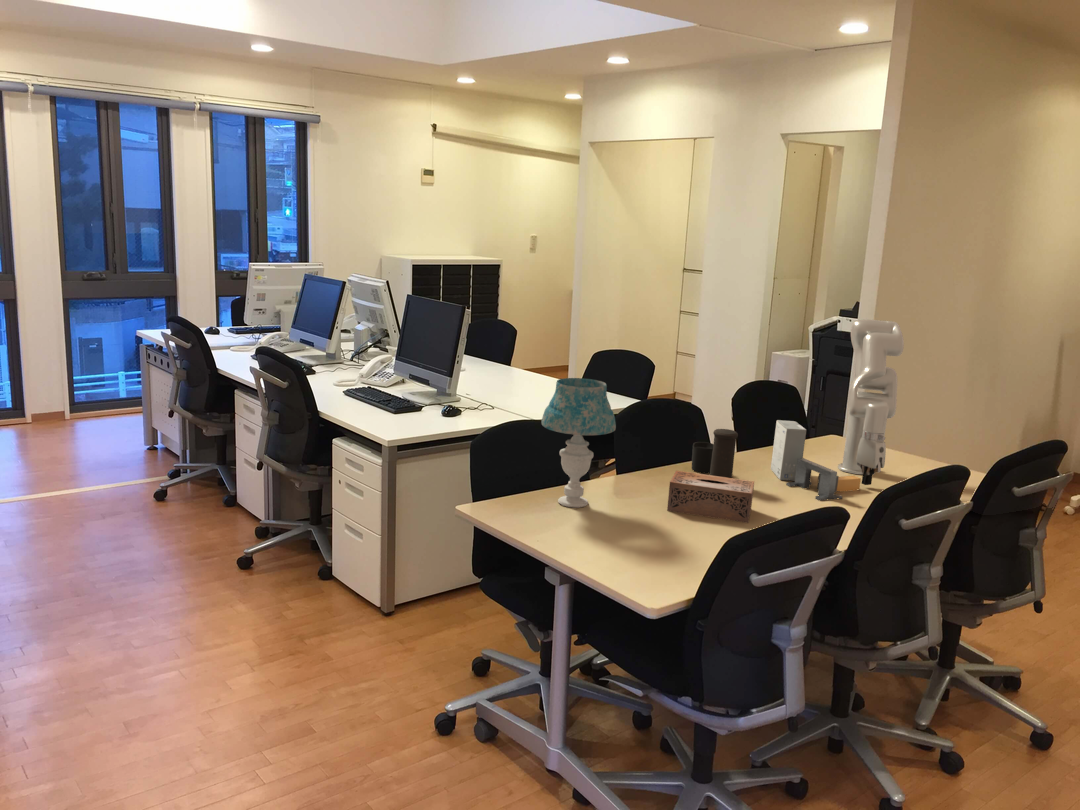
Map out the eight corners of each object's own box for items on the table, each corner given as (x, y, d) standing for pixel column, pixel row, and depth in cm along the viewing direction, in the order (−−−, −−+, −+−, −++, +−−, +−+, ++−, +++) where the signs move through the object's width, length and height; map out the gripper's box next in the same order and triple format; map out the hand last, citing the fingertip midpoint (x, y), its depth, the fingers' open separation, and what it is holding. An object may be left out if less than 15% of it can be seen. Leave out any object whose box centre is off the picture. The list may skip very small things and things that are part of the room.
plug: (851, 486, 317) (853, 471, 316) (860, 490, 313) (862, 474, 312) (816, 489, 311) (819, 473, 310) (825, 493, 307) (827, 477, 306)
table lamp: (571, 487, 295) (579, 373, 287) (624, 506, 279) (634, 385, 270) (521, 500, 279) (528, 379, 270) (574, 520, 262) (583, 393, 254)
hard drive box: (800, 481, 319) (807, 430, 315) (779, 480, 319) (786, 428, 315) (789, 470, 334) (795, 420, 330) (769, 468, 334) (775, 419, 330)
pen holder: (719, 470, 328) (721, 445, 326) (709, 475, 320) (712, 449, 318) (696, 465, 333) (698, 440, 331) (686, 470, 325) (689, 445, 323)
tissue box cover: (667, 511, 277) (669, 481, 275) (673, 498, 291) (676, 470, 289) (748, 523, 270) (751, 493, 268) (751, 510, 284) (754, 481, 282)
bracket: (808, 483, 318) (811, 457, 316) (841, 498, 302) (845, 471, 299) (786, 485, 314) (789, 458, 312) (819, 500, 298) (822, 473, 296)
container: (734, 482, 313) (740, 429, 309) (729, 488, 305) (735, 434, 301) (711, 478, 317) (717, 425, 313) (705, 484, 309) (711, 430, 304)
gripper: (896, 440, 308) (889, 489, 311) (866, 430, 321) (859, 477, 325) (880, 441, 305) (873, 491, 309) (850, 431, 318) (844, 478, 322)
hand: (866, 484), depth 317 cm, fingers closed
